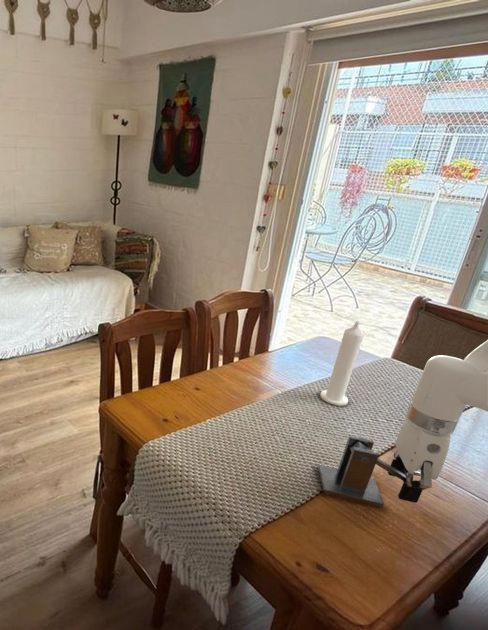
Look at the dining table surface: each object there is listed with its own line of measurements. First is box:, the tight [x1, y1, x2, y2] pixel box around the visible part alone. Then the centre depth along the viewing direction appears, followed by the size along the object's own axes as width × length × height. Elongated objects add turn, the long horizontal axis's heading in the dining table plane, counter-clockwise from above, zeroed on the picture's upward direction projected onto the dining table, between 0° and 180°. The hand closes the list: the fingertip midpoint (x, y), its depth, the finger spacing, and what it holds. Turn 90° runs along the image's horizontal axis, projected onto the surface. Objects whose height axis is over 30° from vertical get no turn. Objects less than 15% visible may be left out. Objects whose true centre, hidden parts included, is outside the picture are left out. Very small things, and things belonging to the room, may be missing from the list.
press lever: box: [350, 441, 408, 483], centre depth 92 cm, size 12×5×2 cm, turn 71°
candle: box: [319, 320, 365, 407], centre depth 123 cm, size 7×7×25 cm
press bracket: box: [317, 435, 385, 509], centre depth 94 cm, size 11×8×12 cm
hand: (401, 487), depth 92 cm, fingers open, 6 cm apart
